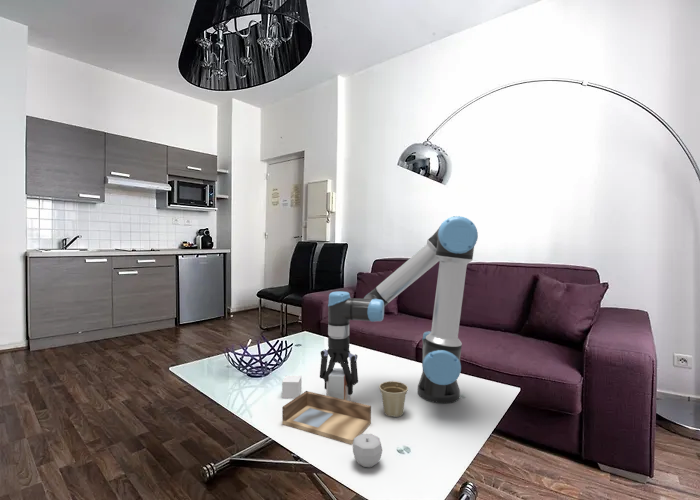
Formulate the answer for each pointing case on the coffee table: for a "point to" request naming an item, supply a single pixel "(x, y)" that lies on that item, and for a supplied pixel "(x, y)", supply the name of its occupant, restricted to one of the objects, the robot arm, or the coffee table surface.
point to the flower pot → (393, 397)
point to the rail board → (327, 416)
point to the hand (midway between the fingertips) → (338, 400)
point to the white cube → (291, 386)
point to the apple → (367, 449)
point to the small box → (337, 383)
